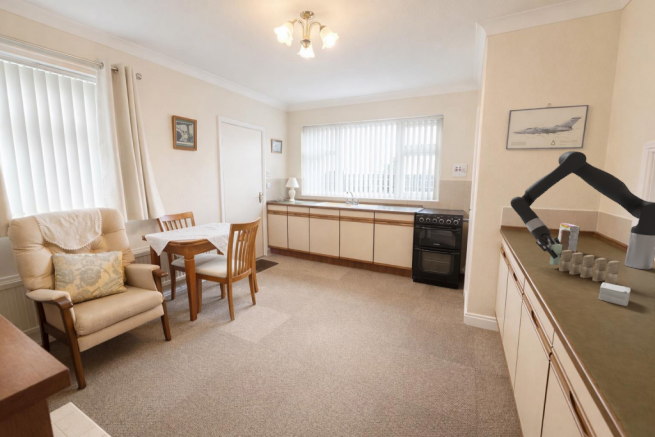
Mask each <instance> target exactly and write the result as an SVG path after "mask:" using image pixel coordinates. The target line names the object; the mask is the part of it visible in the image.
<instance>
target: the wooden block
mask: <svg viewBox="0 0 655 437" xmlns="http://www.w3.org/2000/svg"><path fill="white" fill-rule="evenodd" d="M569 234H570V231H569V230H562V231H561V239H560V243H561V245H562V246H563V247H562V251H564V250H569V249H568V241H569ZM571 251H572V253H574V250H571ZM571 259H572V255H571Z"/></svg>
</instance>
